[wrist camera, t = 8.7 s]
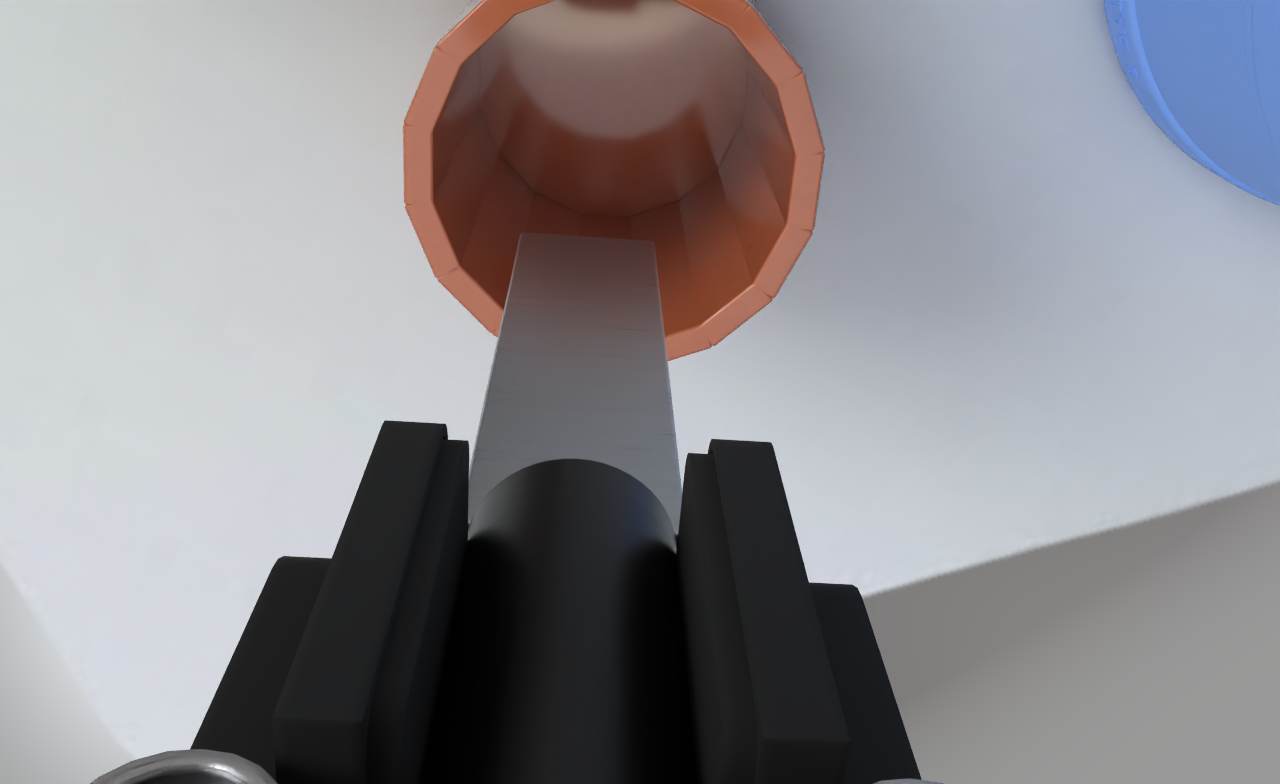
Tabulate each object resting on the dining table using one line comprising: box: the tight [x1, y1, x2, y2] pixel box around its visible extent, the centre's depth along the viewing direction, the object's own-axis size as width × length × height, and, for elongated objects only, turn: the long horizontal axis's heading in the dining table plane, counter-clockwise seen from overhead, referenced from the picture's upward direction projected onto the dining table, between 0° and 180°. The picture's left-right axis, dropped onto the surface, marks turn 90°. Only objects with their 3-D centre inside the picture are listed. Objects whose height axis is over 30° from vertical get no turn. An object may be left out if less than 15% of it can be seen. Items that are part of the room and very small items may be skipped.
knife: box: [420, 232, 697, 784], centre depth 13 cm, size 2×2×16 cm
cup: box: [403, 0, 825, 361], centre depth 28 cm, size 8×8×10 cm
